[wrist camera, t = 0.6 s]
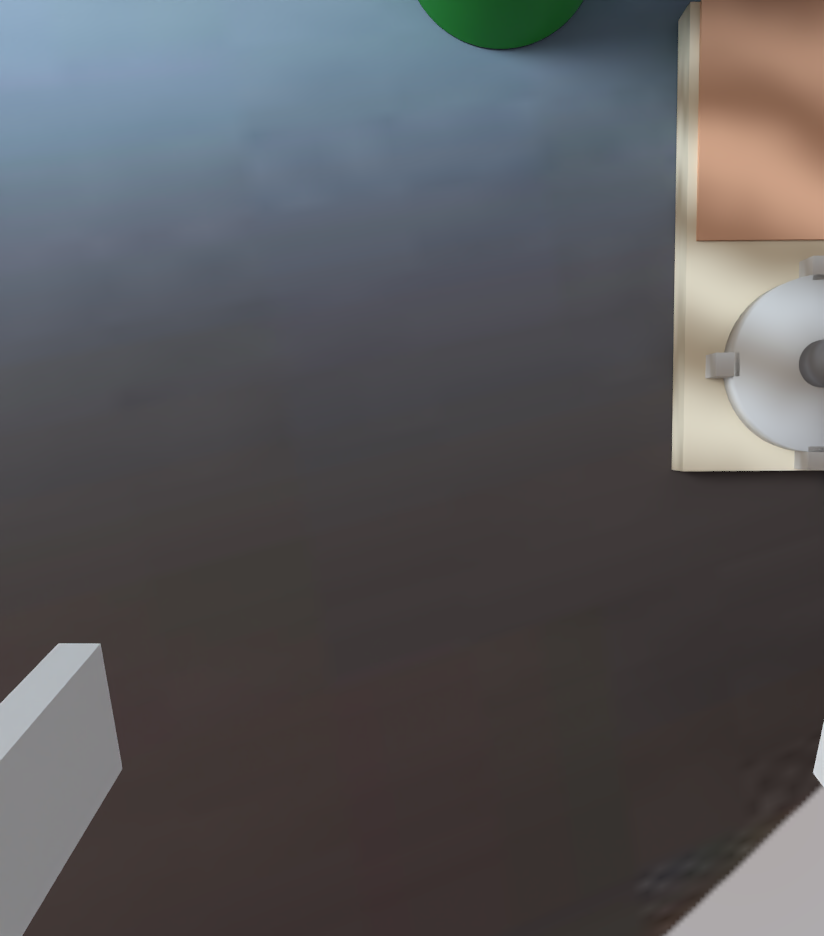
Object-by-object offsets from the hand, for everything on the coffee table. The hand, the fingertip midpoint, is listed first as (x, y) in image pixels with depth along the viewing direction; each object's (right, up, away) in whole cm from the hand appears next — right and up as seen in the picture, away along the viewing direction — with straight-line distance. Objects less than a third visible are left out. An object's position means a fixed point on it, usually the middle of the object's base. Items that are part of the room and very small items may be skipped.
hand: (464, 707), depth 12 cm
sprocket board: (+20, +16, +24) cm, 35 cm away
